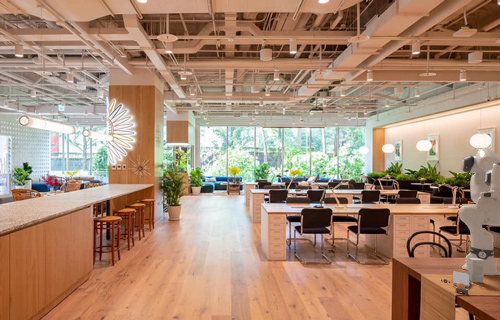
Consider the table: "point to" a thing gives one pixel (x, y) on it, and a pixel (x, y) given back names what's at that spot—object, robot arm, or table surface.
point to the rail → (462, 290)
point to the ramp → (461, 278)
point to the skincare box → (476, 270)
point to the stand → (445, 280)
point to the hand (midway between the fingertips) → (499, 222)
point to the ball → (460, 285)
